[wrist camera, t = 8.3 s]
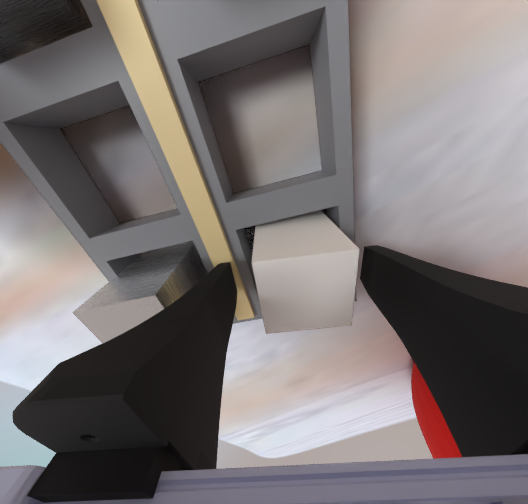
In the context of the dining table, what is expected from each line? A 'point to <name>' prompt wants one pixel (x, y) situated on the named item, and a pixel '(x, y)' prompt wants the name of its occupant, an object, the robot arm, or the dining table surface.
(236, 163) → the dining table surface
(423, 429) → the ceramic cup
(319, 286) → the cream rectangular block
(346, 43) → the peg board
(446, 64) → the dining table surface
